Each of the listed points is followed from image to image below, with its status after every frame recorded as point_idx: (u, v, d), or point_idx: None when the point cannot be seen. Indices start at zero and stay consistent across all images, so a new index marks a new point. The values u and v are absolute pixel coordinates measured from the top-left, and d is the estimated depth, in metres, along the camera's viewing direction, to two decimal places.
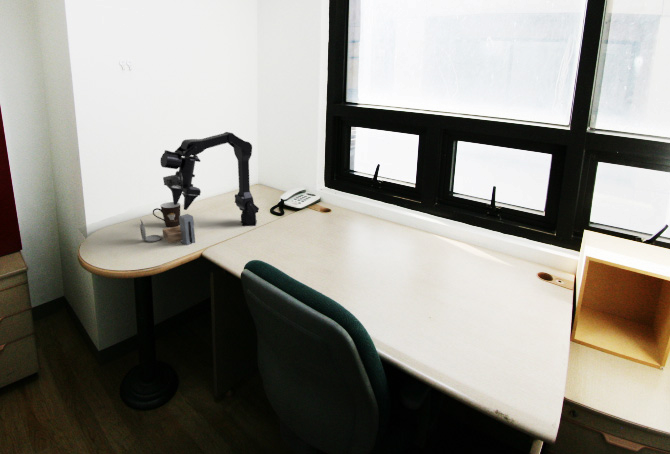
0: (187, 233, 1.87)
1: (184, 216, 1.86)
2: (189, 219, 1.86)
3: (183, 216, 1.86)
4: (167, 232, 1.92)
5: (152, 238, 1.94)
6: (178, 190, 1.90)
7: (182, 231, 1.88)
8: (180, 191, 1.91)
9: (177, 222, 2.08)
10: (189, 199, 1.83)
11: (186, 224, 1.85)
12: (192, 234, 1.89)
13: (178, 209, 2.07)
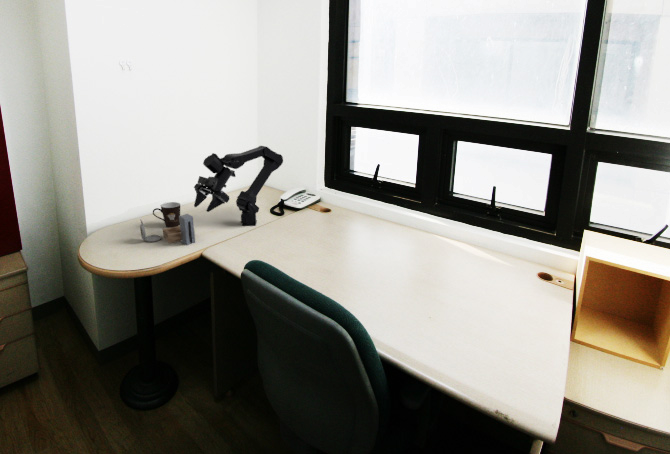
0: (187, 233, 1.87)
1: (184, 216, 1.86)
2: (189, 219, 1.86)
3: (183, 216, 1.86)
4: (167, 232, 1.92)
5: (152, 238, 1.94)
6: (203, 195, 1.97)
7: (182, 231, 1.88)
8: (204, 197, 1.97)
9: (177, 222, 2.08)
10: (215, 203, 1.90)
11: (186, 224, 1.85)
12: (192, 234, 1.89)
13: (178, 209, 2.07)
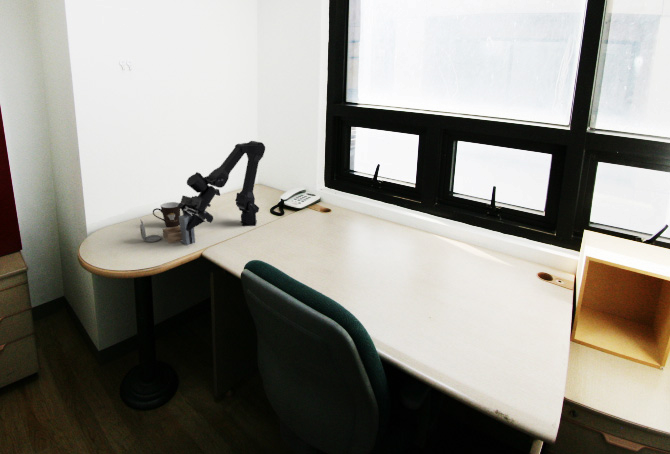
0: (187, 233, 1.87)
1: (184, 216, 1.86)
2: (189, 219, 1.86)
3: (183, 216, 1.86)
4: (167, 232, 1.92)
5: (152, 238, 1.94)
6: None
7: (182, 231, 1.88)
8: None
9: (177, 222, 2.08)
10: (195, 222, 1.87)
11: (186, 224, 1.85)
12: (192, 234, 1.89)
13: (178, 209, 2.07)
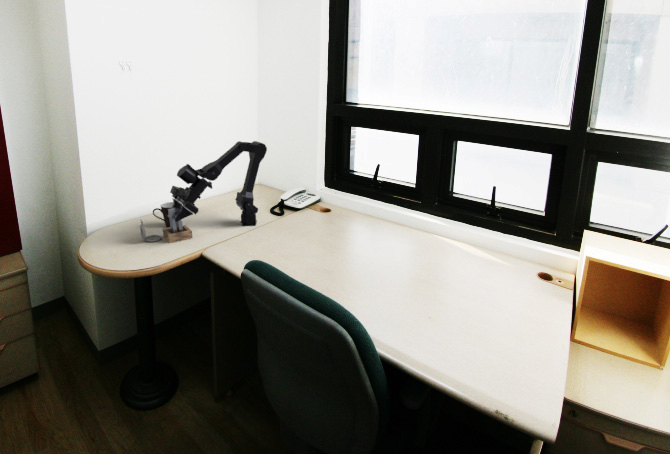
0: (174, 226, 1.92)
1: (173, 209, 1.91)
2: (176, 212, 1.90)
3: (171, 209, 1.91)
4: (167, 232, 1.92)
5: (152, 238, 1.94)
6: (179, 205, 1.97)
7: (170, 224, 1.93)
8: (181, 207, 1.97)
9: None
10: (184, 213, 1.89)
11: (173, 217, 1.90)
12: (180, 227, 1.93)
13: None
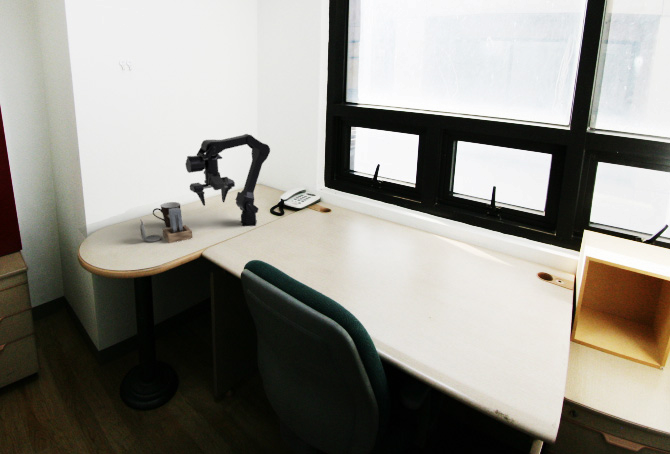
0: (174, 226, 1.92)
1: (173, 209, 1.91)
2: (177, 212, 1.90)
3: (172, 209, 1.91)
4: (167, 232, 1.92)
5: (152, 238, 1.94)
6: None
7: (171, 223, 1.93)
8: None
9: None
10: None
11: (173, 217, 1.90)
12: (180, 227, 1.93)
13: None
